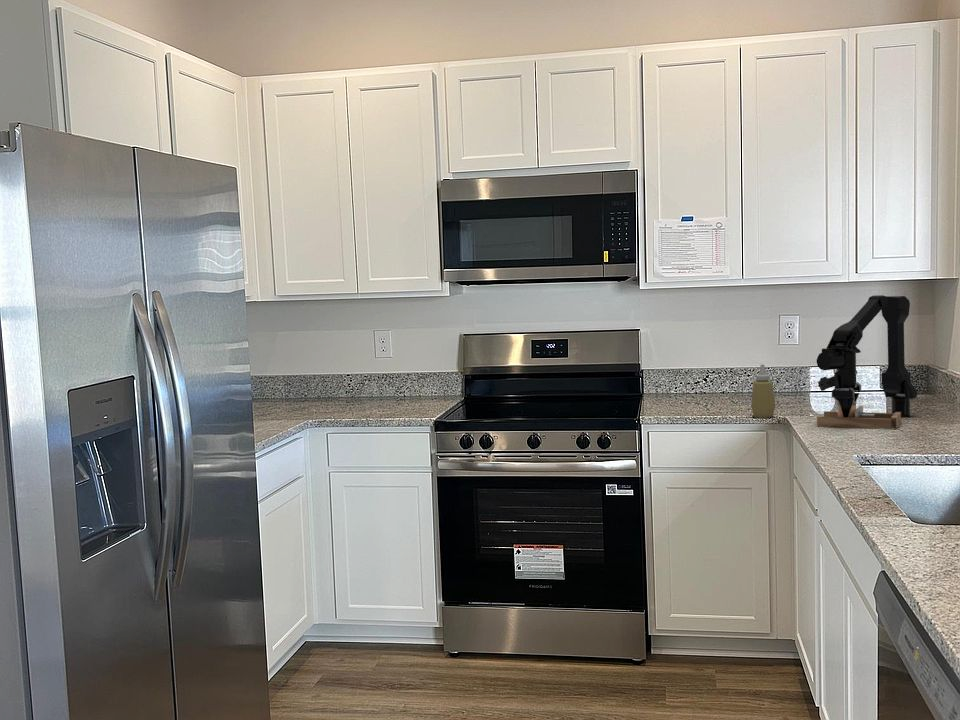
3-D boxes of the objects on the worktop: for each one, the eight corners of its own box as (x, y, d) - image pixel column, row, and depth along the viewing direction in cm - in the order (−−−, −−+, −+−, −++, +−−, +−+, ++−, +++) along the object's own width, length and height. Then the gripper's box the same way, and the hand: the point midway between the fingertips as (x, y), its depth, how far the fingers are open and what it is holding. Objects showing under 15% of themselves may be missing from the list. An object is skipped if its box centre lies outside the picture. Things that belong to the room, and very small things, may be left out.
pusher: (859, 418, 301) (859, 405, 301) (876, 418, 299) (876, 406, 299) (854, 422, 292) (854, 410, 292) (872, 423, 290) (872, 410, 290)
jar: (838, 418, 303) (838, 400, 302) (857, 419, 300) (857, 400, 299) (835, 421, 298) (835, 402, 297) (855, 421, 295) (854, 402, 294)
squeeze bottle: (746, 416, 324) (745, 364, 322) (765, 414, 326) (764, 363, 325) (761, 419, 316) (760, 366, 315) (780, 417, 319) (780, 364, 318)
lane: (824, 420, 308) (824, 409, 308) (901, 422, 297) (901, 411, 297) (817, 426, 296) (816, 415, 296) (896, 429, 285) (896, 417, 285)
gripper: (825, 365, 309) (825, 412, 311) (814, 370, 293) (815, 420, 294) (861, 365, 304) (861, 413, 305) (852, 370, 288) (852, 421, 289)
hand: (847, 416), depth 298 cm, fingers closed on jar, 6 cm apart
